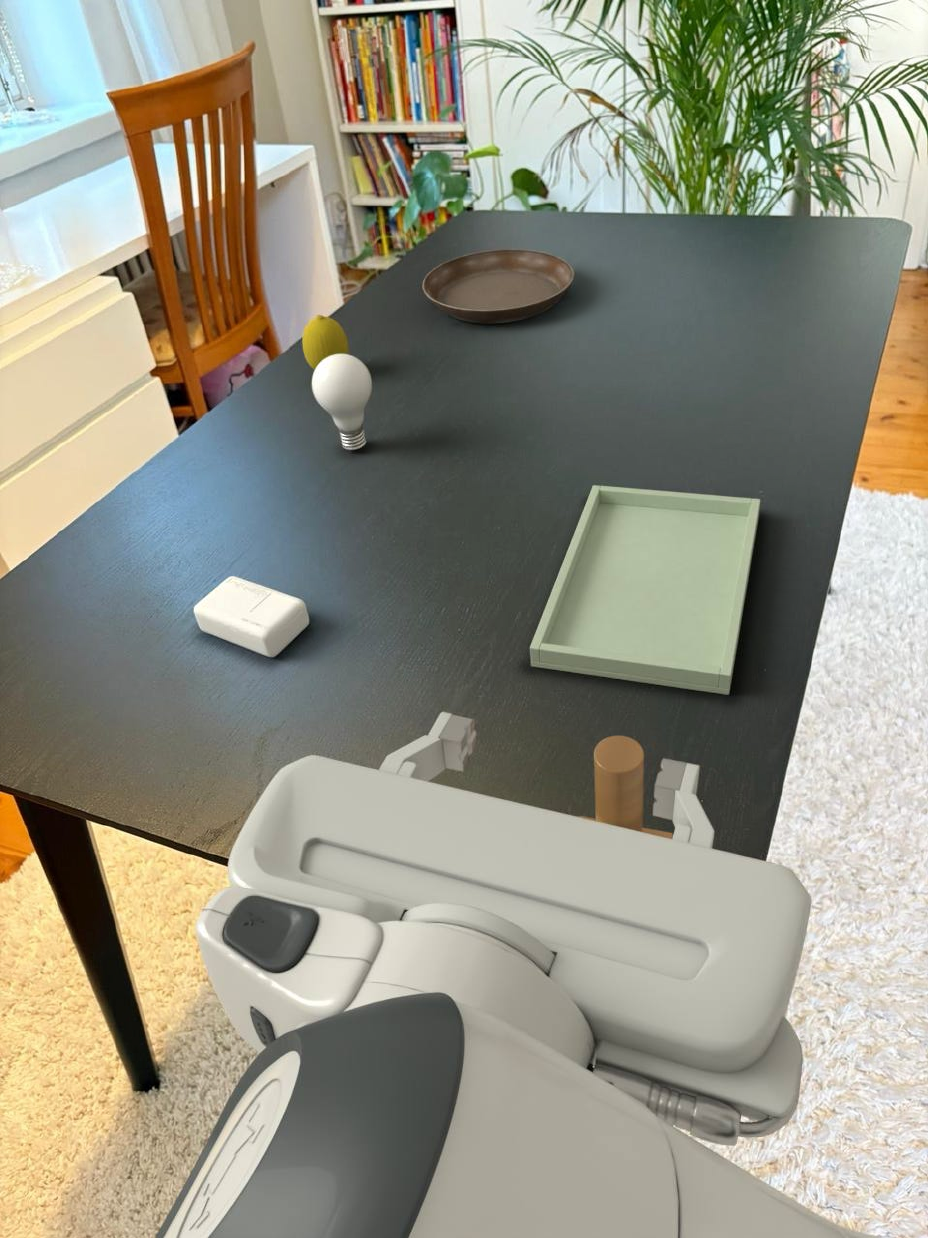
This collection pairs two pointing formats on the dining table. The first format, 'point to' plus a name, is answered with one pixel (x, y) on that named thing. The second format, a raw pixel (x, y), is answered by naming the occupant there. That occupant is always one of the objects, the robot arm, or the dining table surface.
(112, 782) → the dining table surface
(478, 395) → the dining table surface
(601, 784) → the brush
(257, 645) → the soap
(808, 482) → the dining table surface
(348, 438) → the lightbulb
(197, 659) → the dining table surface
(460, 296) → the plant saucer
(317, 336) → the lemon
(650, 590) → the tray
